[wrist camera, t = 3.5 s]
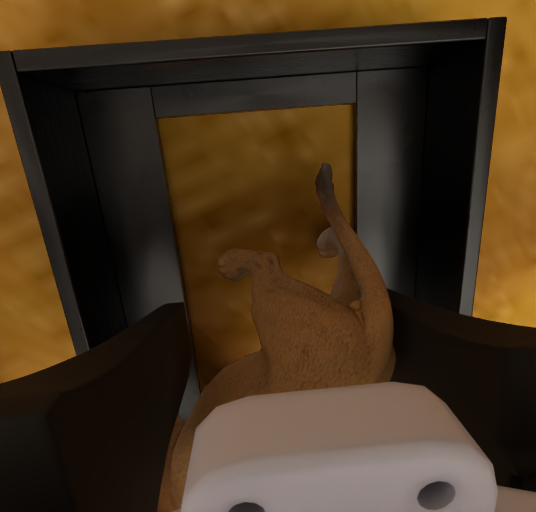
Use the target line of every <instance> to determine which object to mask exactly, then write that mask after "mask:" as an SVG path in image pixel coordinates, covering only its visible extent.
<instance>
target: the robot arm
mask: <svg viewBox="0 0 536 512" xmlns="http://www.w3.org/2000/svg"><path fill="white" fill-rule="evenodd" d="M387 292H388V295H389V298H390V302H391V307H392V314H393V321H394V335H393V347H394V350H395V354H396V361H395V366H394V370H393V374H392V377H391V379H390V381H389V382H384V383H374V384H364V385H354V386H344V387H334V388H324V389H314V390H304V391H294V392H284V393H274V394H264V395H254V396H247V397H244V398H241V399H238V400H235V401H232V402H229V403H226V404H223V405H220V406H217V407H216V408H215V409H214V410H213V411H212V412H211V413H210V414H209V415H208V416H207V417H206V418H205V419H204V420H203V421H202V422H201V424H200V425H199V426H198V427H197V428H196V430H195V435H194V441H193V446H192V451H191V457H190V462H189V467H188V473H187V478H186V484H185V489H184V494H183V500H182V506H181V509H178V510H176V511H173V512H536V328H533V327H526V326H518V325H512V324H506V323H500V322H494V321H489V320H484V319H480V318H475V317H471V316H467V315H463V314H459V313H456V312H452V311H449V310H446V309H442V308H439V307H436V306H433V305H430V304H427V303H425V302H422V301H419V300H417V299H414V298H411V297H409V296H406V295H404V294H401V293H398V292H396V291H393V290H391V289H388V288H387ZM191 359H192V348H191V342H190V336H189V330H188V324H187V318H186V311H185V305H184V302H177V303H166V304H164V305H162V306H160V307H159V308H157V309H155V310H154V311H152V312H151V313H149V314H148V315H146V316H145V317H143V318H142V319H140V320H139V321H138V322H136V323H135V324H133V325H132V326H130V327H128V328H127V329H125V330H123V331H122V332H120V333H119V334H117V335H115V336H114V337H112V338H110V339H109V340H107V341H105V342H103V343H102V344H100V345H98V346H96V347H94V348H92V349H90V350H88V351H86V352H84V353H82V354H80V355H78V356H75V357H73V358H71V359H68V360H66V361H63V362H61V363H59V364H56V365H54V366H51V367H49V368H46V369H44V370H41V371H38V372H36V373H33V374H30V375H27V376H24V377H21V378H18V379H15V380H11V381H8V382H5V383H2V384H0V512H157V507H158V501H159V496H160V490H161V484H162V478H163V473H164V467H165V462H166V457H167V451H168V447H169V443H170V439H171V435H172V432H173V428H174V425H175V422H176V418H177V415H178V412H179V409H180V405H181V402H182V399H183V395H184V392H185V389H186V385H187V382H188V378H189V373H190V366H191Z"/></svg>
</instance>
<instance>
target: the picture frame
mask: <svg viewBox="0 0 536 512" xmlns="http://www.w3.org/2000/svg"><path fill="white" fill-rule="evenodd" d="M506 22H507V17H492V18H488V19H487V18H478V19H463V20H449V21H434V22H419V23H405V24H390V25H376V26H361V27H346V28H332V29H317V30H302V31H288V32H273V33H259V34H244V35H229V36H215V37H200V38H186V39H171V40H156V41H142V42H127V43H112V44H98V45H83V46H69V47H54V48H39V49H25V50H14V51H0V86H1V89H2V93H3V97H4V100H5V104H6V107H7V111H8V114H9V118H10V121H11V125H12V128H13V132H14V136H15V139H16V143H17V146H18V150H19V153H20V157H21V160H22V164H23V167H24V171H25V175H26V178H27V182H28V185H29V189H30V192H31V196H32V199H33V203H34V207H35V210H36V214H37V217H38V221H39V224H40V228H41V231H42V235H43V238H44V242H45V246H46V249H47V253H48V256H49V260H50V263H51V267H52V270H53V274H54V277H55V281H56V285H57V288H58V292H59V295H60V299H61V302H62V306H63V309H64V313H65V317H66V320H67V324H68V327H69V331H70V334H71V338H72V341H73V345H74V348H75V352H76V356H78V355H80V354H82V353H84V352H86V351H88V350H90V349H92V348H94V347H96V346H98V345H100V344H102V343H103V342H105V341H107V340H109V339H110V338H112V337H114V336H115V335H117V334H119V333H120V332H122V331H123V330H125V329H127V328H128V327H130V326H132V325H133V324H135V323H136V322H138V321H139V320H140V319H142V318H143V317H145V316H146V315H148V314H149V313H151V312H152V311H154V310H155V309H157V308H159V307H160V306H162V305H164V304H166V303H177V302H184V305H185V311H186V318H187V324H188V330H189V336H190V342H191V348H192V359H191V366H190V373H189V378H188V382H187V385H186V389H185V392H184V395H183V399H182V402H181V405H180V409H179V416H180V418H181V419H182V421H183V422H184V423H185V422H186V420H187V418H188V416H189V414H190V413H191V411H192V409H193V407H194V405H195V403H196V401H197V399H198V398H199V396H200V395H201V388H200V382H199V376H198V369H197V363H196V357H195V351H194V345H193V338H192V332H191V326H190V320H189V313H188V307H187V301H186V295H185V288H184V282H183V276H182V270H181V264H180V257H179V251H178V245H177V239H176V232H175V226H174V220H173V214H172V207H171V201H170V195H169V189H168V182H167V176H166V170H165V164H164V158H163V151H162V145H161V139H160V133H159V126H158V120H157V118H158V119H159V118H172V117H185V116H199V115H212V114H225V113H239V112H252V111H265V110H279V109H292V108H305V107H319V106H332V105H345V104H354V103H355V141H354V232H355V233H356V234H357V236H358V237H359V239H360V240H361V241H362V243H363V244H364V246H365V248H366V249H367V250H368V252H369V253H370V255H371V257H372V258H373V260H374V262H375V263H376V265H377V267H378V269H379V271H380V273H381V275H382V278H383V280H384V282H385V285H386V288H388V289H391V290H393V291H396V292H398V293H401V294H404V295H406V296H409V297H411V298H414V299H417V300H419V301H422V302H425V303H427V304H430V305H433V306H436V307H439V308H442V309H446V310H449V311H452V312H456V313H459V314H463V315H467V316H471V317H472V311H473V302H474V294H475V285H476V277H477V268H478V260H479V252H480V243H481V234H482V226H483V218H484V209H485V201H486V192H487V184H488V175H489V167H490V158H491V150H492V141H493V133H494V124H495V116H496V107H497V99H498V90H499V82H500V73H501V65H502V56H503V48H504V39H505V31H506Z"/></svg>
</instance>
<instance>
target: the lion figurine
mask: <svg viewBox="0 0 536 512" xmlns="http://www.w3.org/2000/svg"><path fill="white" fill-rule="evenodd" d="M315 186H316V193H317V196H318V199H319V202H320V205H321V209H322V211H323V212H324V214H325V216H326V218H327V219H328V221H329V223H330V225H331V227H329V228H327V229H326V230H325V231H324V232H322V233H321V235H320V236H319V238H318V240H317V244H316V245H317V248H318V250H319V253H320V255H321V256H322V257H323V258H329V257H335V256H337V255H339V268H338V273H337V276H336V279H335V282H334V285H333V288H332V291H331V294H330V296H329V295H328V294H326V293H324V292H322V291H320V290H318V289H316V288H314V287H312V286H310V285H308V284H305V283H303V282H301V281H298V280H296V279H293V278H291V277H289V276H287V275H286V274H285V273H284V272H283V271H282V269H281V267H280V263H279V258H278V256H277V255H276V254H275V253H274V252H270V251H253V250H248V249H244V248H235V249H230V250H228V251H226V252H224V253H223V254H221V255H220V256H219V258H218V259H217V270H218V272H219V273H220V274H221V275H222V276H223V277H224V278H226V279H229V280H231V281H239V280H240V279H241V278H243V277H244V276H245V275H246V274H247V273H248V271H249V272H250V273H251V274H252V278H253V284H252V307H251V312H252V318H253V321H254V323H255V326H256V328H257V331H258V334H259V338H260V343H261V346H262V349H261V350H260V351H259V352H256V353H253V354H249V355H247V356H245V357H243V358H241V359H239V360H237V361H235V362H233V363H231V364H229V365H227V366H226V367H224V368H223V369H222V370H221V371H220V372H219V373H218V374H217V375H216V376H215V377H214V378H213V379H212V380H211V381H210V382H209V383H208V385H207V386H206V387H205V389H204V390H203V391H202V393H201V395H200V396H199V398H198V399H197V401H196V403H195V405H194V407H193V409H192V411H191V413H190V414H189V416H188V418H187V420H186V422H185V423H184V422H183V421H182V419H181V418H180V416H179V412H178V415H177V418H176V422H175V425H174V428H173V432H172V435H171V439H170V443H169V447H168V451H167V457H166V462H165V467H164V473H163V478H162V484H161V490H160V496H159V501H158V507H157V512H173V511H176V510H178V509H181V506H182V500H183V494H184V489H185V484H186V478H187V473H188V467H189V462H190V457H191V451H192V446H193V441H194V435H195V430H196V428H197V427H198V426H199V425H200V424H201V422H202V421H203V420H204V419H205V418H206V417H207V416H208V415H209V414H210V413H211V412H212V411H213V410H214V409H215V408H216V407H217V406H220V405H223V404H226V403H229V402H232V401H235V400H238V399H241V398H244V397H247V396H254V395H264V394H274V393H284V392H294V391H304V390H314V389H324V388H334V387H344V386H354V385H364V384H374V383H384V382H389V381H390V379H391V377H392V374H393V370H394V366H395V361H396V354H395V350H394V347H393V335H394V321H393V314H392V307H391V302H390V298H389V295H388V292H387V288H386V285H385V282H384V280H383V278H382V275H381V273H380V271H379V269H378V267H377V265H376V263H375V262H374V260H373V258H372V257H371V255H370V253H369V252H368V250H367V249H366V248H365V246H364V244H363V243H362V241H361V240H360V239H359V237H358V236H357V234H356V233H355V232H354V230H353V229H352V228H351V227H350V225H349V224H348V222H347V221H346V219H345V218H344V216H343V215H342V212H341V210H340V208H339V206H338V203H337V201H336V199H335V196H334V185H333V182H332V169H331V166H330V164H327V163H323V164H322V166H321V169H320V171H319V173H318V174H317V176H316V179H315Z"/></svg>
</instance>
